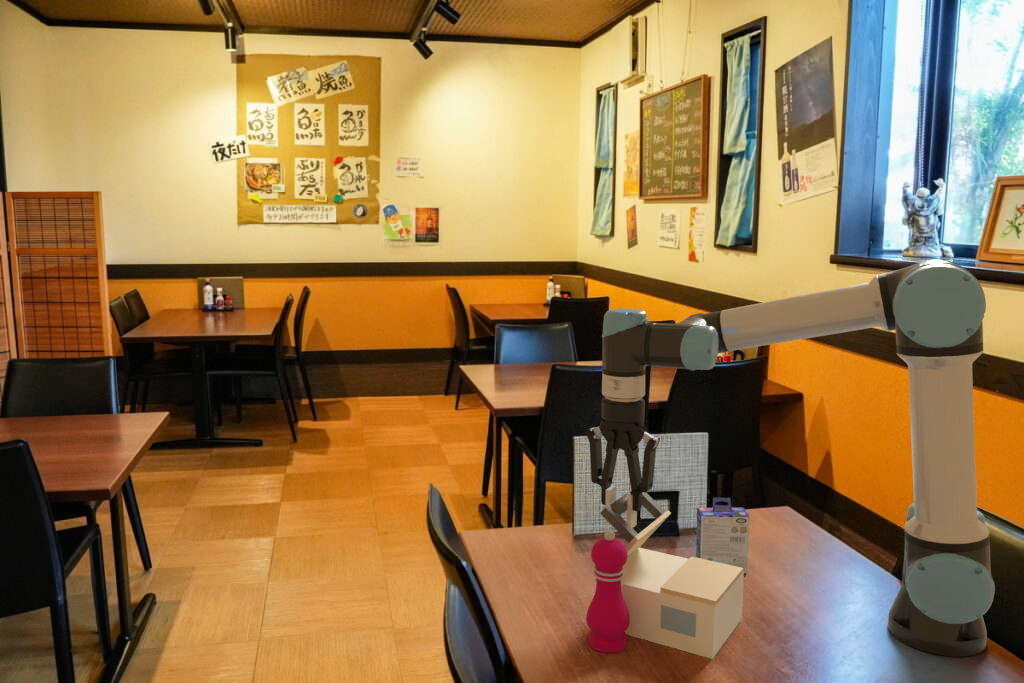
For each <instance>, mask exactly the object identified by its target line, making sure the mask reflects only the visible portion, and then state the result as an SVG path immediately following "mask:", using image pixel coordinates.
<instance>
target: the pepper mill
mask: <svg viewBox="0 0 1024 683" xmlns="http://www.w3.org/2000/svg"><path fill="white" fill-rule="evenodd" d="M603 536H604V537H602V538H600V539H599V540H597V541H596V542H595V543H593V545H592V548H591V551H590V559H591V560H592V562H593V564H594V566H593V571H594V572H593V576H594V577H595V582H596V583H595V584H596V586H595V592H594V595H593V598H592V600H591V602H590V603H589V606H588V609H587V611H586V617H585V618H586V619H585V620H586V625H587V627H588V628H589V629H590V631H589V633H588V644H589V646H590V647H591V648H592V649H593V650H595V651H598V652H600V653H604V654H605V653H606V654H615V653H619V652H622V651H623V650H624V649H625V648H626V646H627V635H626V633H625V631H626V630H627V628H628V627H629V624H630V618H629V612H628V608H627V606H626V603H625V601H624V598H623V595H622V591H621V579H622V578H623V577H624V568H623V565H624V564H625V563H626V561H627V557H628V554H627V549H626V545H625V544H624V542H622V541H621V540H620V539H617V538H616V534H615V532H614V531H613V530H611V529H607V530H606V531H605V532H604V534H603Z"/></svg>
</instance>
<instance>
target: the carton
mask: <svg viewBox="0 0 1024 683" xmlns="http://www.w3.org/2000/svg"><path fill="white" fill-rule="evenodd" d="M623 568H624V577H623V578H622V579H621V591H622V595H623V598H624V601H625V603H626V606H627V608H628V612H629V618H630V624H629V627H628V628H627V630H626V631H625V633H626V636H631V637H634V638H637V639H641V640H644V639H645V640H644V641H647V640H648V642H650V643H655V644H659V645H661V646H664V647H665V646H666V647H668V646H669V648H672V649H675V648H676V650H680V651H683V652H686V653H690V654H692V655H693V654H694V655H696V656H700V657H703V658H708V659H711V660H713V659H714V658H715V657H716V655H717V654H718V653H719V651H720V650H721V648H722V647H723V646H724V644H725V643H726V641H727V640H728V639H729V637H730V636H731V635H732V633H733V632H734V630H735V629H736V628H737V626H738V625H739V623H741V621H742V619H743V604H744V602H743V600H744V583H745V581H744V580H745V578H744V577H745V574H744V571H743V568H741V567H737V566H732V565H728V564H723V563H719V562H714V561H710V560H705V559H701V558H696V556H690V557H689V558H686V557H681V556H677V555H673V554H669V553H665V552H661V551H657V550H650V549H647V548H643V547H640V548H638V549H637V550H636V551H635V552H634V553H632V554H631V555H630V556H629V557H628V558H627V561H626V563H625V564H624V565H623Z"/></svg>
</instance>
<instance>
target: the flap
mask: <svg viewBox="0 0 1024 683" xmlns="http://www.w3.org/2000/svg"><path fill="white" fill-rule="evenodd" d="M629 492H631V490H629V491H628V492H627V493H625V494H624V495H623V496H621V497H620V498H618V499H616V501H615V502H614V503H612V504H611V505H608V506H606V507H605V506H604V508H603V509H602V510H601V512H600V513H599V514H600V515H601V516H602V518H604V520H605V519H606V520H607V521H608V522H609V523H610V526H612V528H614V530H615V531H616V532H618V533H619V535H621V537H622V538H624V540H625V541H626V542H627V543H628V544H626V545H625V547H626V549H627V554H628V557H629V556H630V555H631V554H632V553H634V552H635V551H636V550H637V549H638V548H641V547H642V545H644V544H645V542H646V541H647V540H648V539H649V538H650V537H651V536H652V535H653V534H654V533H655V531H656V530H658V528H659V527H660V526H661V525H662V523H664V521H665V520H667V519H668V517H669V516H670V515H671V514H672V512H671V511H669V510H668V509H667V510H664V509H663V507H661V505H660V504H659V503H657V501H656V500H654V499H653V498H652V497H651V496H650V495H649V493H648V492H642V507H644V509H645V510H646V511H647V512H649V514H651V516H652V517H654V519H655V520H654V521H652V522H651V523H650V524H649V525H647V526H646V527H645V528H644V529H642V530H641V531H640V532H639V533H638V532H637V531H636V530H635V529H634V527H633V528H632V527H631V526H630V525H629V524H628V523H627V520H625V519H624V518H623V517H622V516H621V515H623V514H624V513H625V512H627V494H628V493H629ZM628 557H627V558H628Z"/></svg>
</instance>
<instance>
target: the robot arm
mask: <svg viewBox="0 0 1024 683" xmlns="http://www.w3.org/2000/svg"><path fill="white" fill-rule="evenodd" d="M986 308H987V302H986V296H985V292H984V289H983V287H982V285H981V283H980V282H979V281H978V279H977V278H976V277H975V276H974V275H973V273H971V272H970V271H969V270H967V268H964V267H963V266H962V265H960V264H958V263H956V262H954V261H949V260H947V259H937V258H936V259H935V258H934V259H927V260H923V261H920V262H916V263H915V264H912V265H910V266H906V267H903V268H900V269H896V270H892V271H888V272H883V273H879V274H878V273H877V274H875V275H874V277H873V278H872V279H871V280H870V281H869V282H864V283H863V282H862V283H860V284H859V283H858V284H853V285H847V286H842V287H838V288H833V289H827V290H822V291H817V292H811V293H805V294H801V295H795V296H791V297H786V298H779V299H774V300H769V301H763V302H760V303H755V304H754V303H753V304H750V305H748V304H747V305H744V306H737V307H732V308H727V309H723V310H720V311H713V312H707V313H705V312H699V313H694V314H691V315H688V316H687V317H686V318H685V319H683V320H681V321H680V322H677V323H665V322H664V323H662V322H652V321H649V319H648V317H647V312H646V311H645V310H643V309H636V308H614V309H613V308H612V309H610V310H607V311H606V312H604V316H603V323H602V324H603V325H602V327H603V328H602V335H601V338H602V345H601V346H602V370H601V373H602V377H601V378H602V379H601V394H602V395H603V396H602V397H603V398H602V399H601V421H600V424H599V426H597V427H596V426H593V427H590V428H589V429H587V430H586V432H585V434H586V436H587V439H588V443H589V460H590V480H591V482H592V483H593V484H596V485H598V486H600V489H601V490H600V491H601V494H600V495H601V496H600V500H601V501H600V502H601V505H603V506H604V508H605V507H606V506H608V505H611V504H612V503H614V502H615V501H617V499H616V498H617V496H616V494H617V493H616V492H617V486H616V485H612V484H614V481H613V480H614V474H615V470H616V464H617V458H618V453H619V451H620V450H623V451H624V455H625V458H626V463H627V468H628V470H627V472H628V477H629V484H630V491H631V492H630V491H628V492H629V493H628V492H627V493H628V494H627V493H626V494H627V510H626V522H627V523H628V524H629V525H630V526H631V527H632V528H633V529H634V528H635V527H636V526H637V524H638V523H637V521H638V511H640V510H641V509H642V507H643V505H642V492H646V493H648V492H649V491H650V490H652V488H653V486H654V476H655V464H656V452H657V448H658V445H659V443H660V442H661V438H660V437H659V436H658V435H655V436H654V435H652V434H650V433H649V432H647V428H646V426H645V410H646V409H645V405H646V402H645V399H644V398H643V397H645V395H646V367H647V366H648V367H657V368H658V367H659V368H660V367H661V368H670V369H671V368H672V369H673V368H674V369H681V370H689V371H697V370H699V371H700V370H701V371H703V370H704V371H705V370H706V371H709V370H712V369H713V368H714V367H715V365H716V362H717V361H718V360H717V359H718V355H719V354H723V353H724V354H725V353H728V352H732V351H737V350H743V349H751V348H756V347H762V346H768V345H769V346H770V345H774V344H781V343H786V342H792V341H794V342H795V341H799V340H805V339H811V338H816V337H817V338H819V337H824V336H830V335H835V334H842V333H848V332H854V331H859V330H860V331H861V330H866V329H870V328H877V327H878V328H880V329H882V330H884V331H886V332H890V331H895V344H896V345H895V346H896V347H895V348H896V355H897V356H898V357H899V358H900V359H901V360H903V361H904V362H905V363H906V365H907V368H908V374H907V375H908V391H909V392H908V394H909V396H908V397H909V417H910V418H909V419H910V441H911V463H912V464H911V465H912V468H911V469H912V483H913V484H912V487H913V488H912V489H913V502H912V503H911V504H910V505H909V506H908V510H907V515H906V517H905V520H906V522H905V523H904V526H903V527H904V556H903V567H902V580H901V586H900V588H899V590H898V592H897V595H896V596H895V598H894V601H893V602H892V605H891V607H890V609H889V611H888V616H887V617H888V618H887V628H888V631H889V632H890V633H891V634H892V636H893V637H895V638H896V639H898V640H899V641H900V642H901V643H904V644H905V645H908V646H910V647H912V648H914V649H916V650H919V651H923V652H926V653H929V654H934V655H939V656H944V657H957V658H959V657H971V656H976V655H978V654H980V653H981V652H983V651H984V650H985V649H986V647H987V639H988V638H987V636H988V631H987V627H986V623H985V621H984V617H983V616H984V615H985V614H986V613H987V612H988V610H989V609H990V608H991V606H992V603H993V601H994V598H995V597H994V596H995V593H996V592H995V591H996V585H995V581H994V580H993V576H992V570H991V544H990V541H991V540H990V529H989V527H988V526H986V518H985V515H984V514H983V513H982V512H981V511H980V510H978V501H977V500H978V498H977V470H976V468H977V467H976V464H977V463H976V444H975V443H976V442H975V438H976V437H975V414H974V413H975V410H974V409H975V408H974V406H975V405H974V386H973V384H974V380H973V364H974V362H975V361H976V360H977V359H978V358H979V357H981V355H982V354H983V353H984V332H983V330H984V329H983V328H984V327H983V325H984V324H983V320H984V318H985V313H986V310H987V309H986ZM602 437H603V438H604V439H605V440H606V446H605V456H604V457H605V458H604V463H603V447H602V446H603V445H602ZM642 440H643V446H644V447H645V448H644V450H643V461H642V470H641V463H640V458H639V452H640V448H639V444H640V442H641V441H642ZM604 520H605V521H604V522H605V523H604V525H606V526H611V524H610V523H609V522H608V521H607V520H606V519H605V518H604Z"/></svg>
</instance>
